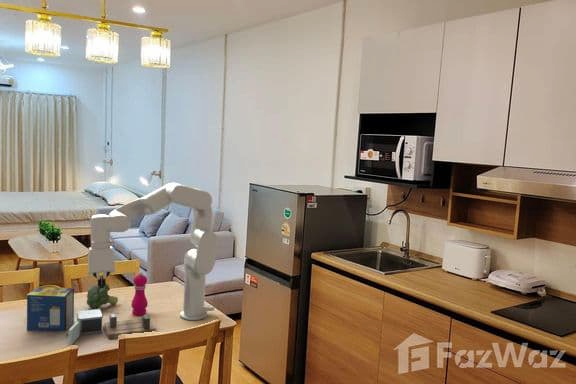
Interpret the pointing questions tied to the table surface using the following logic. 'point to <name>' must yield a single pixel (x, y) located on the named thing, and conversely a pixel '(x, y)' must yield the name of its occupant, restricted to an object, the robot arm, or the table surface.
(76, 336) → the door
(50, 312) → the protein box
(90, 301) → the vegetable
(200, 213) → the robot arm
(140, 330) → the fader board
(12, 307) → the table surface
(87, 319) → the box
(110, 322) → the fader knob
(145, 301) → the pepper mill
